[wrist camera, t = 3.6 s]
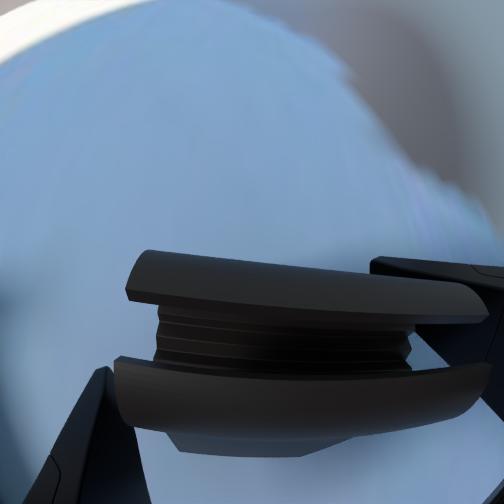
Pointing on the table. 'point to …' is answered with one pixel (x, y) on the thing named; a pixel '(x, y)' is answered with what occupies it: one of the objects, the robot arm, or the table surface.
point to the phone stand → (288, 355)
